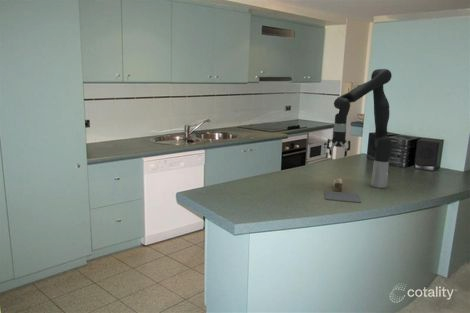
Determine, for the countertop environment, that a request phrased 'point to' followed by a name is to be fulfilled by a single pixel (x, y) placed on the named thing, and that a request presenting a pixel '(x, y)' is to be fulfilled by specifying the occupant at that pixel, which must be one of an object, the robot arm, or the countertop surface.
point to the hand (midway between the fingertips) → (337, 156)
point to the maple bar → (337, 185)
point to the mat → (342, 197)
